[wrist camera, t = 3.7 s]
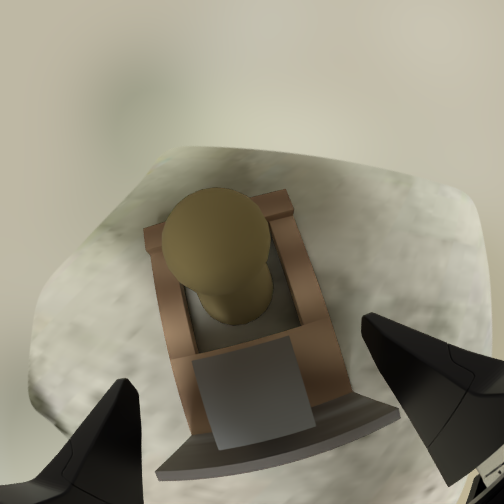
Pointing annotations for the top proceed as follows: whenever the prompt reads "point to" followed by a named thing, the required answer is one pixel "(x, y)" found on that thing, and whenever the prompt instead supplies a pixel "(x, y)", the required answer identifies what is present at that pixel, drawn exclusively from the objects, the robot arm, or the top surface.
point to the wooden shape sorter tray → (261, 374)
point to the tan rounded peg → (221, 253)
